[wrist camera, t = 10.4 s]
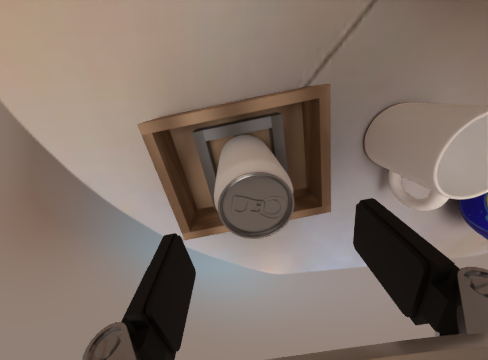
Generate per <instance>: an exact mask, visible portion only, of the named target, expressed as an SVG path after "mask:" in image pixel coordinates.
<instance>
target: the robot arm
mask: <svg viewBox="0 0 488 360" xmlns="http://www.w3.org/2000/svg"><path fill="white" fill-rule="evenodd" d="M353 244H354V247H355V249H356V251H357V252H358V254H359V255H360V256H361V258H362V259H363V260H364V262H365V263H366V264H367V266H368V267H369V268H370V270H371V271H372V272H373V274H374V275H375V277H376V278H377V279H378V281H379V282H380V283H381V285H382V286H383V287H384V289H385V290H386V291H387V293H388V294H389V295H390V297H391V298H392V300H393V301H394V302H395V304H396V305H397V306H398V308H399V309H400V310H401V312H402V313H403V314H404V315H405V316H406V317H410V319H411V320H412V321H413V323H414V324H415V325H421V324H428V323H429V324H430V325H431V327H432V328H433V329H434V330H435V337H429V338H421V339H412V340H404V341H397V342H389V343H382V344H376V345H368V346H360V347H353V348H346V349H338V350H331V351H324V352H318V353H310V354H303V355H296V356H290V357H282V358H275V359H269V360H488V270H486V269H483V268H477V267H465V268H461V269H459V268H458V267H457V266H456V265H454V263H453V262H452V261H451V260H450V259H448V258H447V257H446V256H445V255H443V254H442V253H441V252H440V251H438V250H437V249H436V248H435V247H434V246H432V245H431V244H430V243H429V242H427V241H426V240H425V239H424V238H422V237H421V236H420V235H419V234H417V233H416V232H415V231H414V230H412V229H411V228H410V227H409V226H407V225H406V224H405V223H404V222H402V221H401V220H400V219H399V218H397V217H396V216H395V215H394V214H393V213H391V212H390V211H389V210H388V209H386V208H385V207H384V206H383V205H381V204H380V203H379V202H378V201H376V200H375V199H373V198H371V199H365V200H361V201H360V202H359V204H357V205H356V215H355V227H354V239H353ZM195 275H196V272H195V268H194V266H193V264H192V261H191V259H190V257H189V254H188V252H187V250H186V248H185V245H184V243H183V241H182V238H181V236H177V234H169V235H165V236H164V237H163V238H162V241H161V243H160V245H159V247H158V249H157V251H156V253H155V255H154V257H153V259H152V261H151V263H150V265H149V267H148V268H147V271H146V272H145V274H144V277H143V278H142V281H141V283H140V285H139V287H138V289H137V291H136V293H135V295H134V297H133V299H132V301H131V303H130V305H129V307H128V309H127V311H126V313H125V315H124V317H123V319H122V322H115V323H113V324H110V325H108V326H107V327H105V328H104V329H102V330H101V331H100V332H99V333H98V334H97V335H96V336H95V337H94V338H93V339H92V340H91V342H90V343H89V345H88V346H87V348H86V350H85V352H84V355H83V360H174V359H175V354H176V351H179V349H180V346H181V342H182V337H183V332H184V328H185V323H186V318H187V314H188V309H189V304H190V299H191V295H192V290H193V285H194V281H195Z"/></svg>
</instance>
